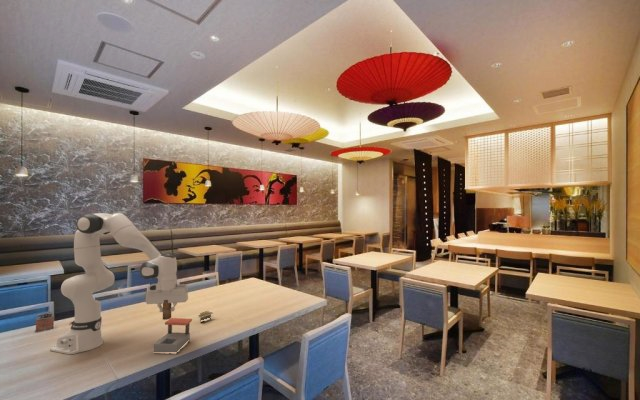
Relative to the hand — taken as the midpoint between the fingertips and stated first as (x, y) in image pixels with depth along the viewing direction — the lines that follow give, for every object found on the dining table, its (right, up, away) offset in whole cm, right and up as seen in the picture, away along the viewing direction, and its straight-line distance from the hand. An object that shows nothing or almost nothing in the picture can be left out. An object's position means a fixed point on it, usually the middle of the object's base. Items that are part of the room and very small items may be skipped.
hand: (167, 311), depth 152 cm
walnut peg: (0, -4, 0) cm, 4 cm away
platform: (+4, -23, +40) cm, 46 cm away
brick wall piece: (-85, -20, +21) cm, 90 cm away
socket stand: (+1, -21, +3) cm, 21 cm away
